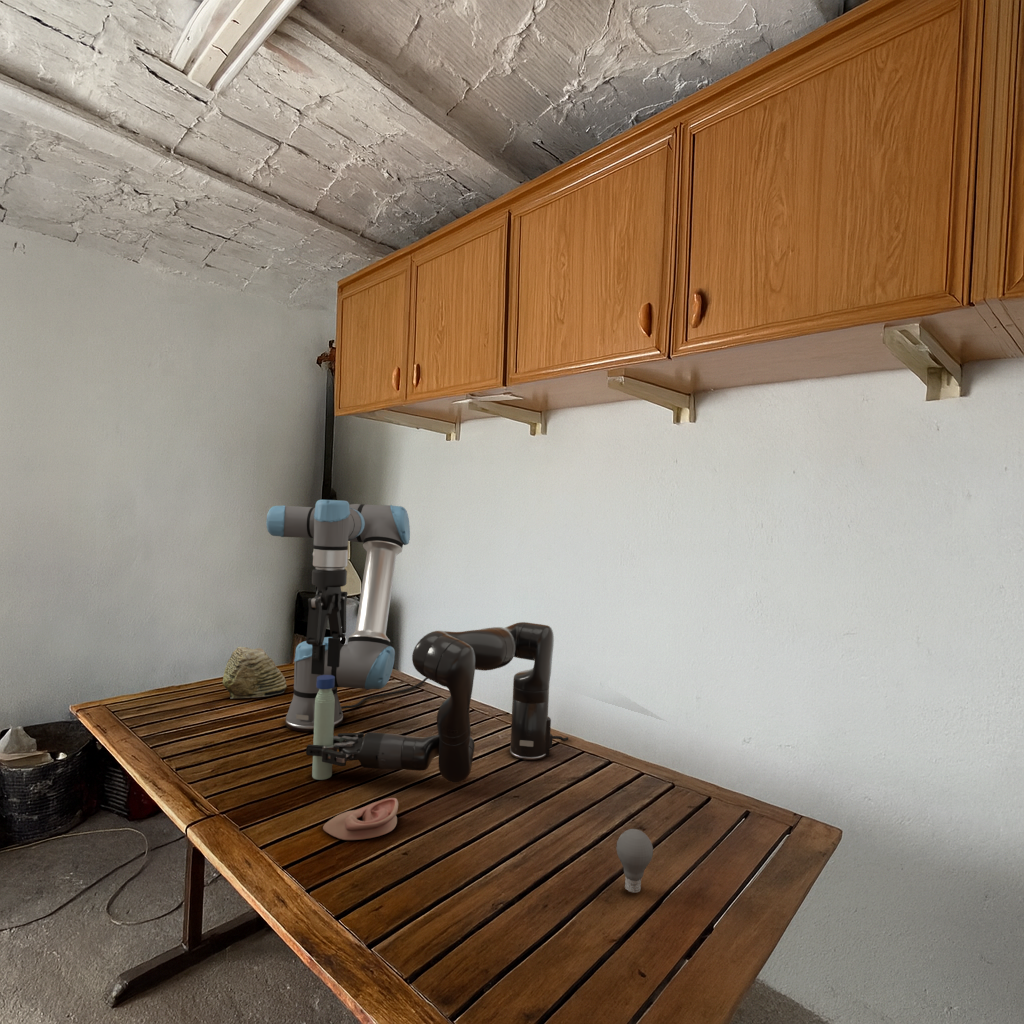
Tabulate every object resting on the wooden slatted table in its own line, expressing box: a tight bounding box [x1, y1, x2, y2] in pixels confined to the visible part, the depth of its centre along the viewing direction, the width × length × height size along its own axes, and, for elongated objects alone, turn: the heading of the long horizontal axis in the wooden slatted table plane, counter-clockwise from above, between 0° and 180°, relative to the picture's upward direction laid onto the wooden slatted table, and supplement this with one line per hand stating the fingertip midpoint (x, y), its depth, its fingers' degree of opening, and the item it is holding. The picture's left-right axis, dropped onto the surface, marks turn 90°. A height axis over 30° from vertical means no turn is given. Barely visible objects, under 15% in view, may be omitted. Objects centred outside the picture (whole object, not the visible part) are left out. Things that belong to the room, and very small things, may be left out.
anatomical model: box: [322, 797, 399, 841], centre depth 122 cm, size 13×4×12 cm
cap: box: [316, 675, 335, 689], centre depth 143 cm, size 4×4×2 cm
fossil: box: [222, 646, 288, 699], centre depth 198 cm, size 9×18×15 cm, turn 132°
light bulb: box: [615, 828, 654, 894], centre depth 106 cm, size 6×6×10 cm
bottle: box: [311, 688, 335, 781], centre depth 144 cm, size 4×4×22 cm
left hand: (325, 669), depth 143 cm, fingers open, 6 cm apart
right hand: (311, 745), depth 144 cm, fingers closed on bottle, 4 cm apart
